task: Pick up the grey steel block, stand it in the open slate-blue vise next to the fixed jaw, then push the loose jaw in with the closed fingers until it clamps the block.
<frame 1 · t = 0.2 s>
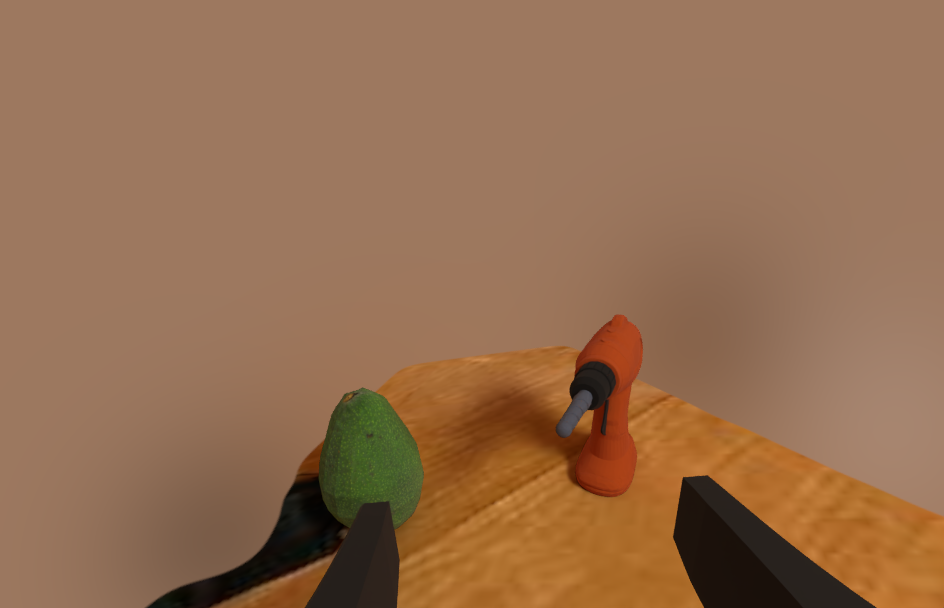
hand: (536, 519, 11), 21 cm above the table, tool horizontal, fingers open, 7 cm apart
avocado: (380, 520, 38), on the table
toy drill: (594, 502, 39), on the table
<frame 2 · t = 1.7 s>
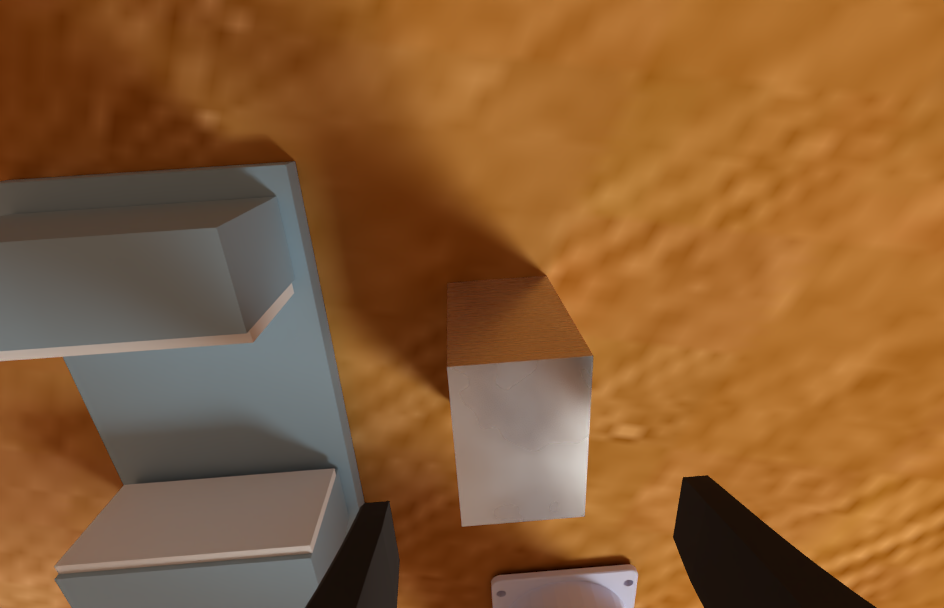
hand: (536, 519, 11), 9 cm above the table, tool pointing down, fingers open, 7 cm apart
steel block: (499, 344, 20), on the table
loose jaw: (221, 540, 19), point 3 cm above the table, slide at 0.0 cm
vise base: (228, 405, 20), on the table
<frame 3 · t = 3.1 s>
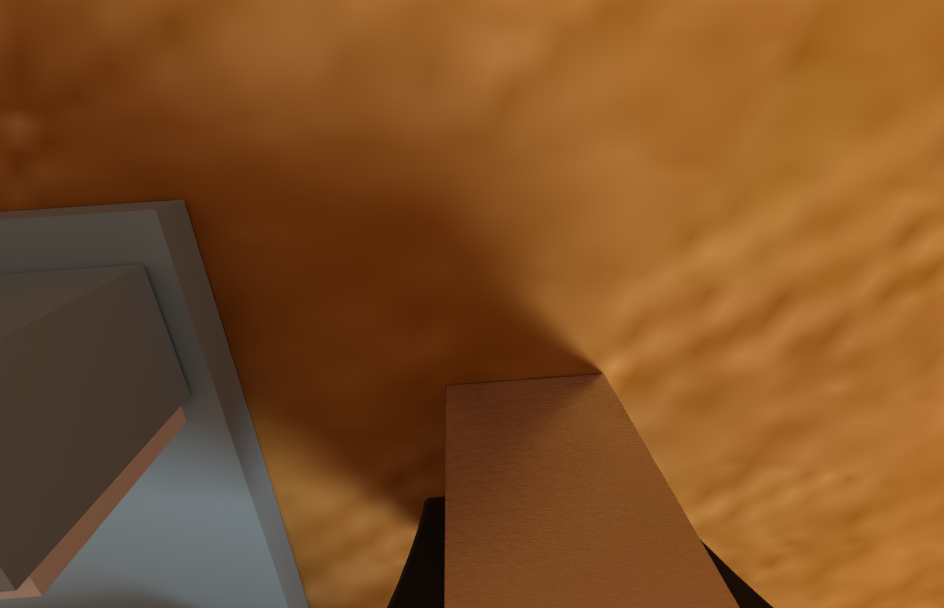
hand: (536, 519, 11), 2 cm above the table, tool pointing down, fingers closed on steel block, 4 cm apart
steel block: (526, 471, 13), on the table, touching gripper
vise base: (116, 557, 13), on the table
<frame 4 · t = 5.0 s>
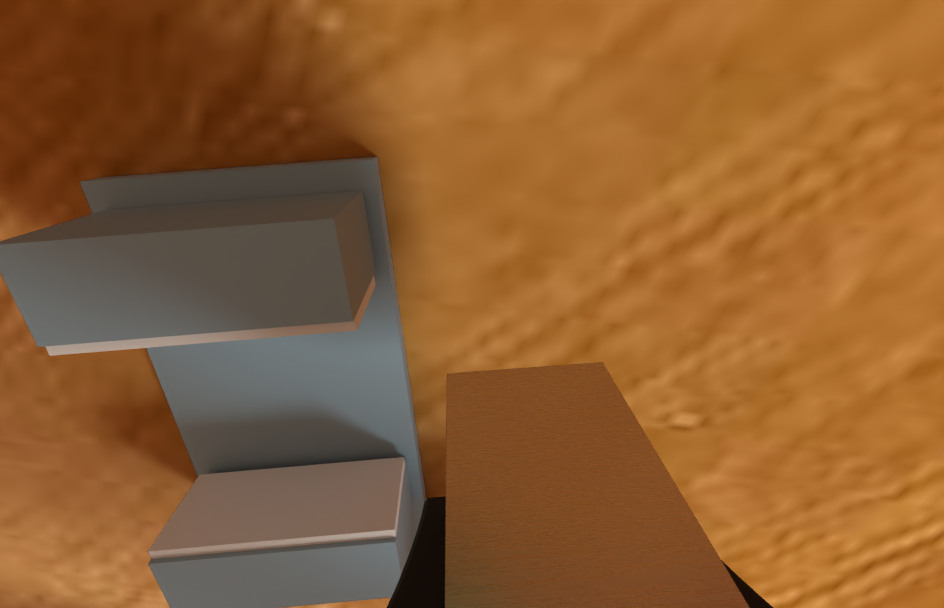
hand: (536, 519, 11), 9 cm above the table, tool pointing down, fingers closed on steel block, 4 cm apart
steel block: (525, 459, 13), point 8 cm above the table, touching gripper
loose jaw: (298, 527, 19), point 3 cm above the table, slide at 0.0 cm
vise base: (299, 396, 21), on the table
when the fingers open (4 cm above the table, at t = 7.1 s): steel block drops 1 cm, resting on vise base.
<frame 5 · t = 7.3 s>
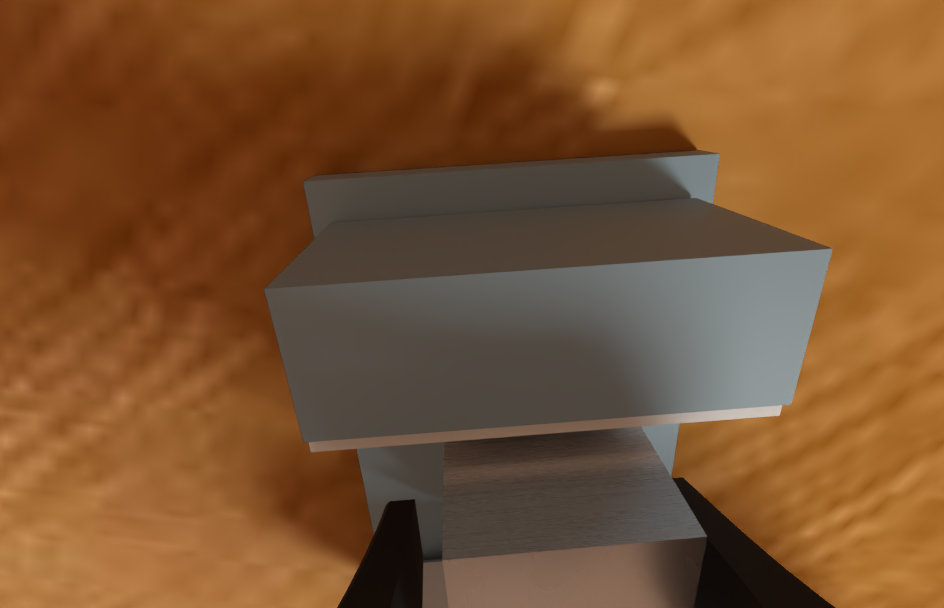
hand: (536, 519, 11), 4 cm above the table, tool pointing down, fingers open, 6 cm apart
steel block: (519, 429, 14), point 1 cm above the table, touching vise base
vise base: (515, 463, 16), on the table
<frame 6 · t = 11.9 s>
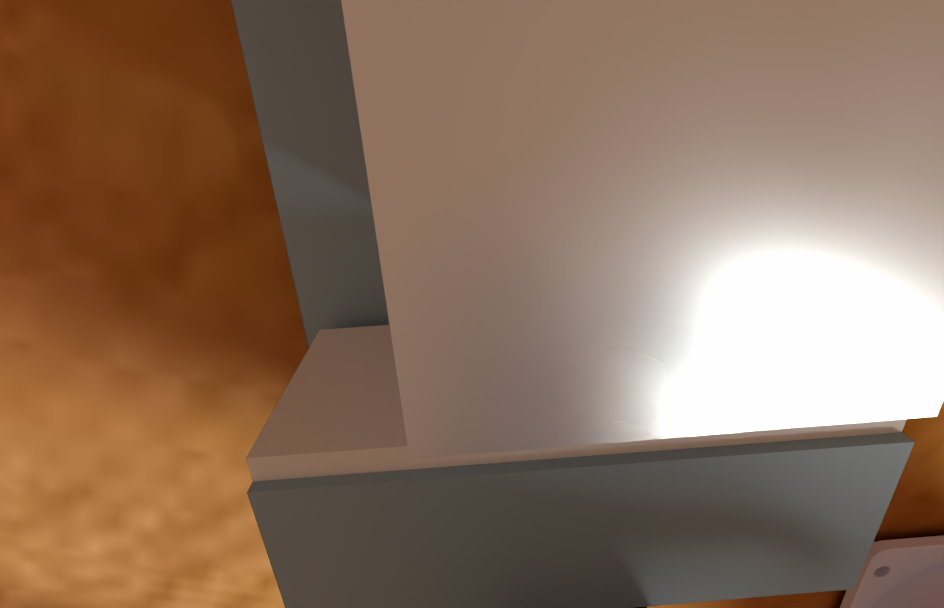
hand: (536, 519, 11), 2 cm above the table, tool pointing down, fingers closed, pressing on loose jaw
steel block: (530, 62, 8), point 1 cm above the table, touching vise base
loose jaw: (551, 436, 9), point 3 cm above the table, slide at 0.1 cm, touching gripper
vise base: (522, 182, 10), on the table
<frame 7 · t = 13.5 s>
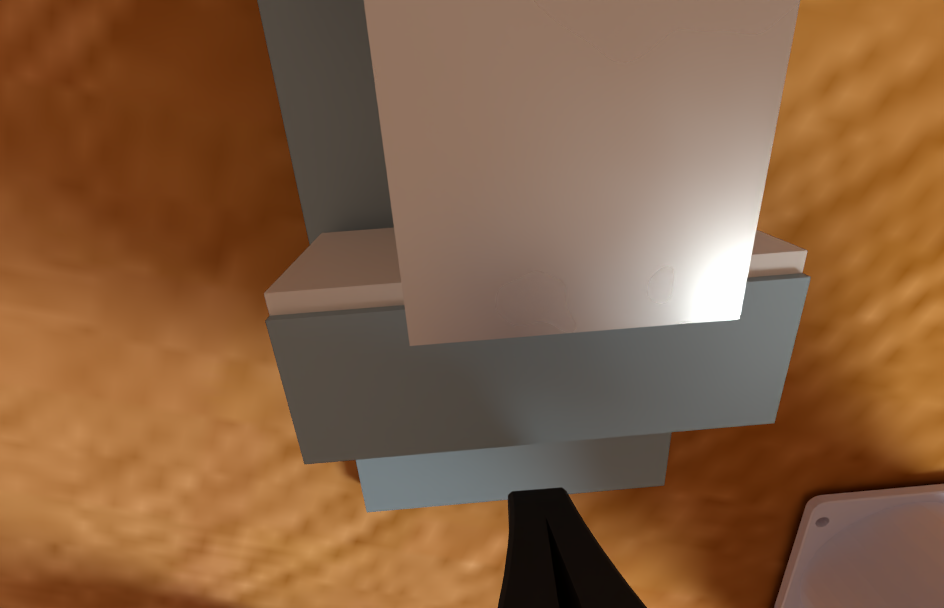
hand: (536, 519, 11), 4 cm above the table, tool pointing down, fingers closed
steel block: (503, 81, 10), point 1 cm above the table, touching loose jaw, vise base
loose jaw: (522, 314, 10), point 3 cm above the table, slide at 2.2 cm, touching steel block
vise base: (501, 190, 12), on the table
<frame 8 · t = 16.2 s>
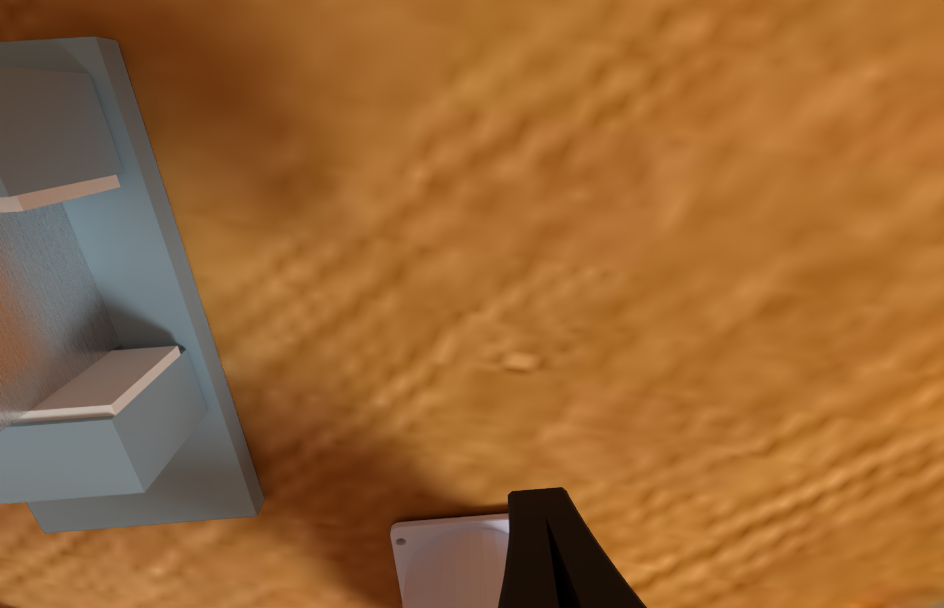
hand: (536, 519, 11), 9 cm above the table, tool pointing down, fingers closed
steel block: (35, 276, 17), point 1 cm above the table, touching loose jaw, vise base
loose jaw: (39, 420, 17), point 3 cm above the table, slide at 2.2 cm, touching steel block
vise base: (83, 327, 19), on the table
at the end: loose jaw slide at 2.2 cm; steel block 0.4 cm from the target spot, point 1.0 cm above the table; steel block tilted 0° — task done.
